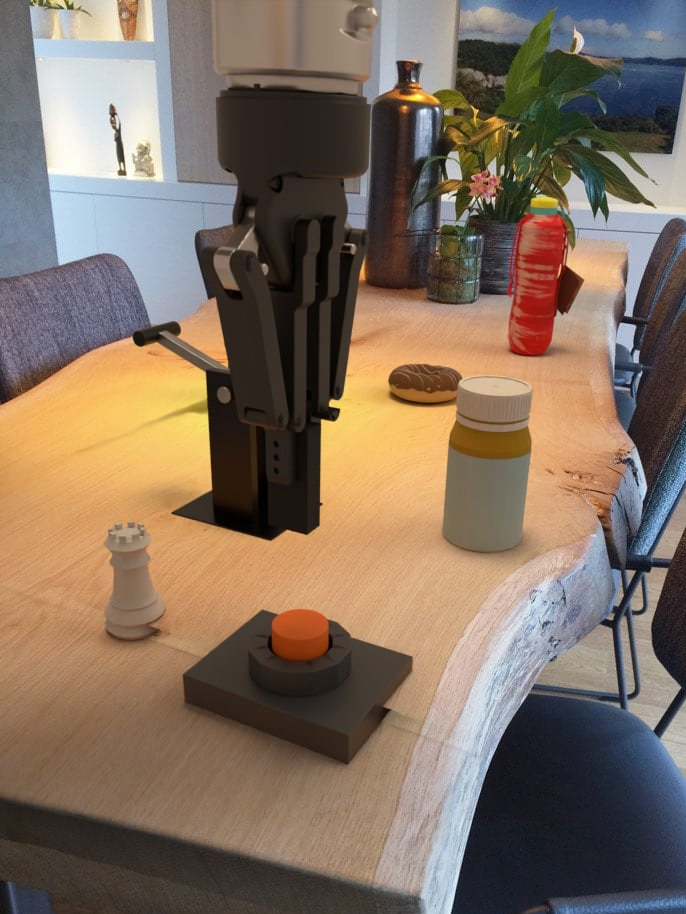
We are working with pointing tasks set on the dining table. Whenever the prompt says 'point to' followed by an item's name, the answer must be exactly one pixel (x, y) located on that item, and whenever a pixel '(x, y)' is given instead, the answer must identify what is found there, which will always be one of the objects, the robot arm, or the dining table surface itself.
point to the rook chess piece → (131, 584)
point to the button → (300, 635)
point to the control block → (299, 687)
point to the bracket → (233, 467)
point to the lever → (175, 344)
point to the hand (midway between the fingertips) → (294, 524)
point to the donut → (424, 382)
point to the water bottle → (540, 278)
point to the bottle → (488, 464)
